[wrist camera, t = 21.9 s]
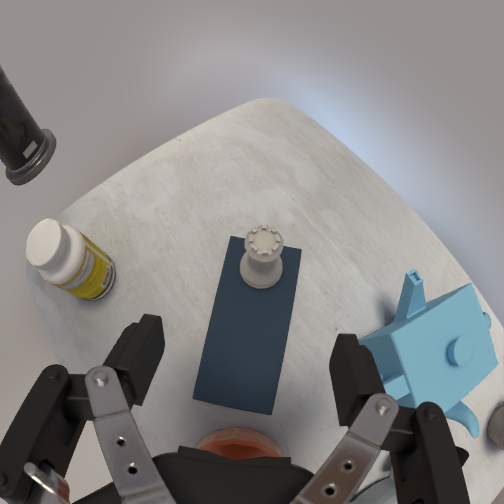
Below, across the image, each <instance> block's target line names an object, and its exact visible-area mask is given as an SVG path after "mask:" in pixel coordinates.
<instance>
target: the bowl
mask: <svg viewBox="0 0 504 504" xmlns="http://www.w3.org/2000/svg"><path fill="white" fill-rule="evenodd" d="M194 449H200V450H206V451H209V452H212V453H214V454H217V455H220V456H223V457H226V458H229V459H232V460H240V459H248V458H255V457H262V456H267V457H285V455H284V453H283V451H282V450H281V449H280V448H279V446H278V445H277V444H276V443H275V441H274V440H272V439H271V438H269V437H267V436H265V435H263V434H262V433H260V432H258V431H255V430H249V429H244V428H239V427H238V428H237V427H236V428H229V429H222V430H217V431H215V432H213V433H212V434H210V435H208V436H206V437H204V438H202V439H201V440H200V442H199V443H198V444H197V445H196V447H195V448H194Z"/></svg>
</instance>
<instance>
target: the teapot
mask: <svg viewBox="0 0 504 504" xmlns="http://www.w3.org/2000/svg"><path fill="white" fill-rule="evenodd" d="M422 282H423V280H422V278H421V277H420V275H419V274H418V272H417V271H416V269H414V270H412V271H410V272H408V273H406V276H405V280H404V284H403V289H402V293H401V296H400V300H399V304H398V308H397V311H396V315H395V318H394V322H393V323H391V324H389V325H387V326H385V327H383V328H381V329H379V330H377V331H376V332H374V333H372V334H370V335H368V336H366V337H364V338H362V339H360V340H358V342H359V345H365V346H366V347H367V348H368V349H369V350H370V351H371V352H372V355H373V357H374V360H375V363H376V365H377V369H378V371H379V374H380V377H381V379H382V382H383V385H384V388H385V391H386V394H388V395H390V396H392V397H393V398H394V399H395V400H396V401H397V403H398V405H400V406H404V407H410V408H417V407H418V406H419V405H420V404H421V403H423V402H426V401H429V402H434V403H436V404H437V405H439V406H440V407H441V408H442V410H443V412H444V415H445V418H449V419H452V420H455V421H457V422H459V423H461V424H463V425H464V426H465V427H466V428H467V430H468V431H469V433H470V434H471V436H472V437H474V438H476V437H477V436H478V435H479V423H478V420H477V418H476V416H475V415H474V413H473V412H472V411H471V410H470V409H469V408H468V407H467V406H466V405H465V404H463V403H462V402H461V401H460V400H461V399H462V398H464V397H465V396H466V395H467V394H468V393H469V392H470V391H472V390H473V389H474V388H475V387H476V386H477V385H478V384H479V383H480V382H481V381H482V380H483V379H484V378H485V377H486V376H487V375H488V374H489V373H490V372H491V371H492V370H493V369H494V368H495V367H496V366H497V365H498V361H497V358H496V354H495V350H494V347H493V343H492V339H491V336H490V332H489V329H490V327H491V319H490V317H489V315H488V314H487V313H486V312H482V309H481V306H480V304H479V301H478V298H477V296H476V293H475V291H474V288H473V286H472V283H469V284H467V285H465V286H463V287H460V288H458V289H456V290H454V291H452V292H450V293H448V294H445V295H443V296H441V297H439V298H436V299H434V300H432V301H429V302H428V303H426V304H425V297H424V289H423V283H422Z"/></svg>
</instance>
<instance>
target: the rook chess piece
mask: <svg viewBox="0 0 504 504" xmlns="http://www.w3.org/2000/svg"><path fill="white" fill-rule="evenodd" d="M283 247H284V246H283V239H282V237H281V235H280V233H279V232H278V231H277V230H276V229H275V228H274V227H272V228H271V227H269V226H267V225H261V226H259V227H255V228H253V229H252V230H251V231H250V232H249V233H248V234H247V236H246V238H245V249H246V251H247V252H246V253H245V254H244V255H243V257H242V259H241V263H240V273H241V275H242V278H243V280H244V281H245V282H246V283H247V284H248V285H250V286H252V287H255V288H268V287H270V286H273V285H274V284H275V283H276V282H277V281H278V280H279V279H280V276H281V274H282V260H281V258H280V256H279V255H280V254H281V252H282V250H283Z"/></svg>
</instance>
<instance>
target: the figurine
mask: <svg viewBox="0 0 504 504" xmlns="http://www.w3.org/2000/svg"><path fill="white" fill-rule="evenodd" d="M455 447H456V451H457V454H458V457H459V461H460V464H461V468H462V466H463V465H464V463H465V462H466V460H467V459H468V457H469V453H468V452H467V451H466V450H465V449H463V448H460V447H457V446H455ZM348 504H397V497H396V489H395V482H394V475H393V469H392V466H391V471H390V476H389V478H386V479H384V480H382V481H380V482H378V483H376V484H374V485H373V486H371V487H370V488H368V489H367V490H366V491H364V492H363V493H362V494H360V495H359V496H358V497H357V498H356V499H355V500H354V501H353V502H350V503H348Z"/></svg>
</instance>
